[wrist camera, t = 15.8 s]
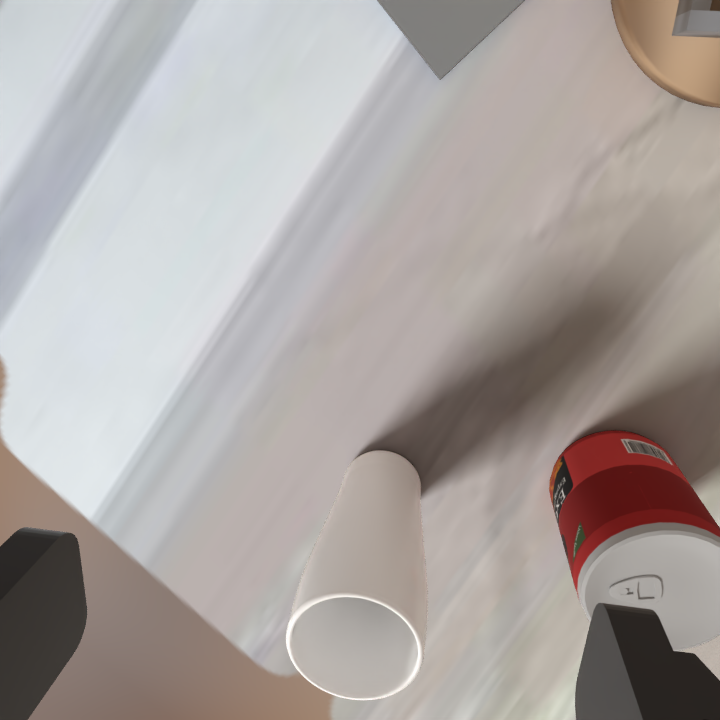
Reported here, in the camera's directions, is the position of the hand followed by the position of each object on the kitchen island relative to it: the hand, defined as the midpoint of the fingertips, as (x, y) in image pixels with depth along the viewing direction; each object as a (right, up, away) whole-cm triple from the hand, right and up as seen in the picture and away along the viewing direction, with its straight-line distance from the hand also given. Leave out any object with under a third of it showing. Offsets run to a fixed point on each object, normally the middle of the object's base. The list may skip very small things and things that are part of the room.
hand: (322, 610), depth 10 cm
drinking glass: (+2, -4, +34) cm, 34 cm away
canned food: (+17, -4, +32) cm, 36 cm away
